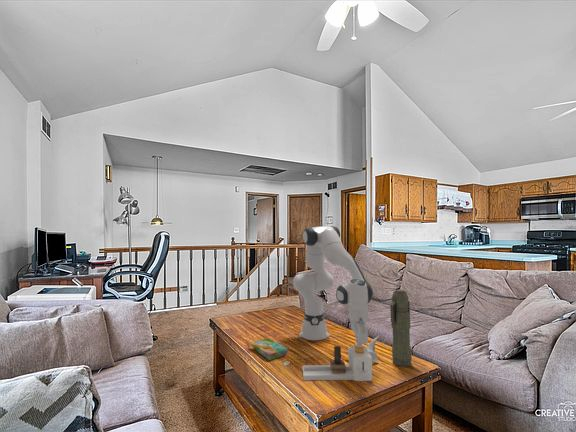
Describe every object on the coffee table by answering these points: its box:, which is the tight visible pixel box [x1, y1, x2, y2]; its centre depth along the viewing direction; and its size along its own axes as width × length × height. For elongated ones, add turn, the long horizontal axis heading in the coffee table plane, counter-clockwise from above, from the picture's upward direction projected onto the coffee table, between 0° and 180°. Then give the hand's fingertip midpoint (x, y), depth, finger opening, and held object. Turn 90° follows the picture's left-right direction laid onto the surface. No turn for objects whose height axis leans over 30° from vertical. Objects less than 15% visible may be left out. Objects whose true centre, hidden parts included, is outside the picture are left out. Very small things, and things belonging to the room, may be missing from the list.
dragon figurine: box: [346, 335, 380, 365], centre depth 157 cm, size 15×15×9 cm
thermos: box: [390, 289, 412, 368], centre depth 151 cm, size 9×12×35 cm
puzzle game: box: [250, 338, 289, 361], centre depth 165 cm, size 12×5×20 cm
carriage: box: [329, 345, 346, 373], centre depth 139 cm, size 7×6×10 cm
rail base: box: [302, 346, 373, 382], centre depth 139 cm, size 13×30×10 cm, turn 89°
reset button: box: [355, 345, 365, 353], centre depth 140 cm, size 4×4×2 cm
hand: (359, 346), depth 140 cm, fingers closed
